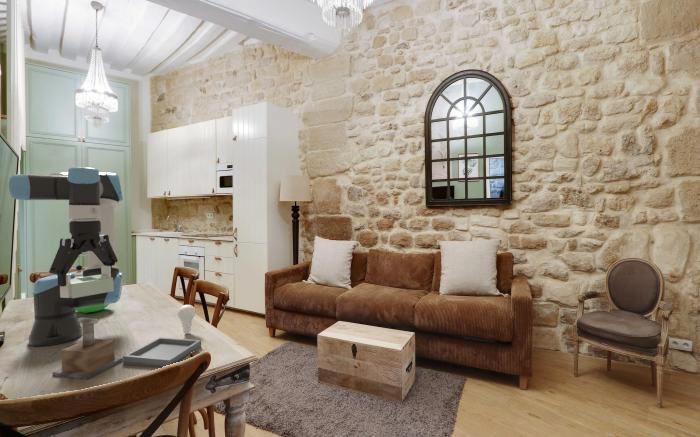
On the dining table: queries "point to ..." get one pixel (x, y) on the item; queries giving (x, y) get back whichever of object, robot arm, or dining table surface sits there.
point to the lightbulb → (186, 317)
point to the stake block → (87, 354)
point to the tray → (162, 352)
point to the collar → (91, 285)
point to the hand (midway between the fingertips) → (87, 291)
